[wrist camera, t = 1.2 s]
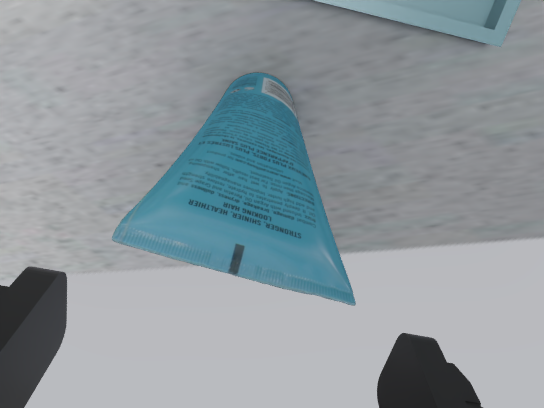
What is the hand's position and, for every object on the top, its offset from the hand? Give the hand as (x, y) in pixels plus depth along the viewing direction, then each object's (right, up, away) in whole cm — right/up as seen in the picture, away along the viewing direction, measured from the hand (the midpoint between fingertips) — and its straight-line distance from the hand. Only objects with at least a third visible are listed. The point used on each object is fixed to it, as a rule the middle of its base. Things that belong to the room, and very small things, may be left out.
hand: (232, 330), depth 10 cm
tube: (0, +10, +20) cm, 22 cm away
